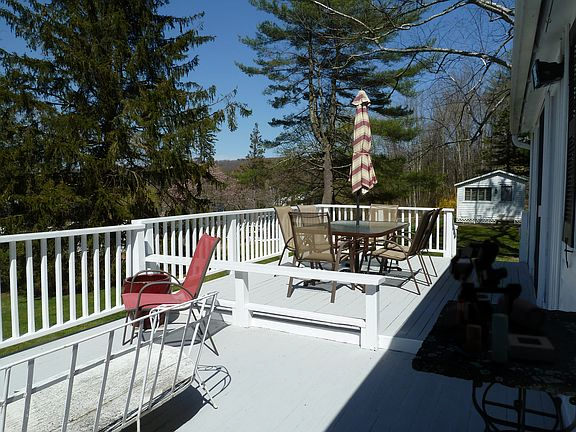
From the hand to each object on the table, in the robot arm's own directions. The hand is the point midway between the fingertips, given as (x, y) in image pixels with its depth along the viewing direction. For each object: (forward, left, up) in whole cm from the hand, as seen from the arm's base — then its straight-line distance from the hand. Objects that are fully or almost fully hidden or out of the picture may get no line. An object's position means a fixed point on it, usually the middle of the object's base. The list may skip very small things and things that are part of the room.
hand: (495, 313), depth 142 cm
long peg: (+1, -4, -13) cm, 14 cm away
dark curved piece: (+13, +41, -14) cm, 45 cm away
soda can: (-7, +32, -14) cm, 35 cm away
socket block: (+10, +5, -13) cm, 18 cm away
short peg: (-6, +3, -13) cm, 15 cm away
